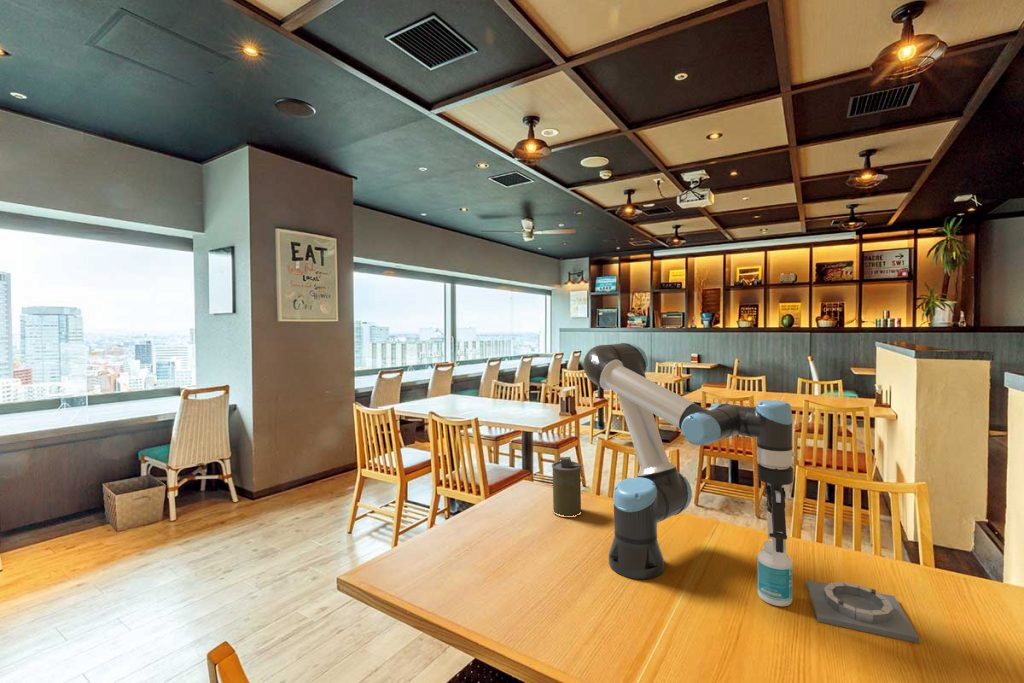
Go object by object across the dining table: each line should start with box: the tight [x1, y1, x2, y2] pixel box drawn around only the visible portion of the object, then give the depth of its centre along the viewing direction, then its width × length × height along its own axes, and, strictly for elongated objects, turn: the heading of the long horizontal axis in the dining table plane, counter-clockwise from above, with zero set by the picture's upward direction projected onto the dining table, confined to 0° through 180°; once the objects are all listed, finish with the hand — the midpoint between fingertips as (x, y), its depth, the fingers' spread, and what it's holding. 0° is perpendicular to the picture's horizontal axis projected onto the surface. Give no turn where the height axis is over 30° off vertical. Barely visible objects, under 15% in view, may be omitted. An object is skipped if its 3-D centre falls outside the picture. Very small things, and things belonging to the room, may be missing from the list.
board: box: [806, 579, 920, 644], centre depth 108 cm, size 18×16×1 cm
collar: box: [824, 581, 893, 624], centre depth 107 cm, size 12×12×3 cm
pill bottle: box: [757, 540, 793, 607], centre depth 113 cm, size 8×7×14 cm
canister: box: [551, 456, 584, 516], centre depth 166 cm, size 11×10×20 cm
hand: (776, 551), depth 112 cm, fingers open, 13 cm apart
